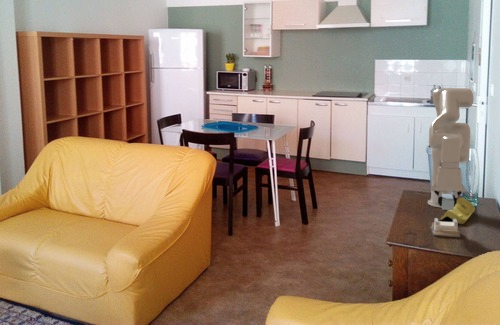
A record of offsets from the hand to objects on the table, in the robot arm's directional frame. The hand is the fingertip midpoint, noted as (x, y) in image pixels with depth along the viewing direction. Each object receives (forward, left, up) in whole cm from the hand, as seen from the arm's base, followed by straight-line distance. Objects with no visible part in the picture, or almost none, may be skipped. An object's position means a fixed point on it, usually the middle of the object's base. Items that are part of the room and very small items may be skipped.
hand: (446, 205), depth 223 cm
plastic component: (-22, +9, -13) cm, 27 cm away
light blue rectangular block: (0, 0, 0) cm, 0 cm away
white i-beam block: (0, 0, -12) cm, 12 cm away
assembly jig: (0, 0, -13) cm, 13 cm away
